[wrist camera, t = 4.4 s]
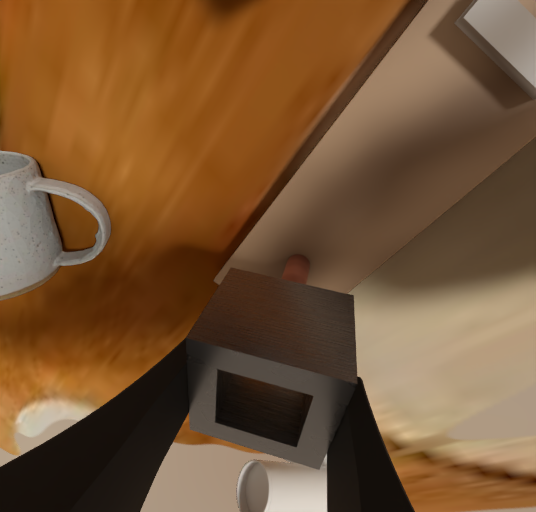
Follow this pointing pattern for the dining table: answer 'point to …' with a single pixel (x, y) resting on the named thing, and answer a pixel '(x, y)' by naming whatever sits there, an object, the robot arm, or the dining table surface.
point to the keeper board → (404, 145)
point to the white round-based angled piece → (282, 487)
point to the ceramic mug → (37, 226)
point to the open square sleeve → (272, 366)
